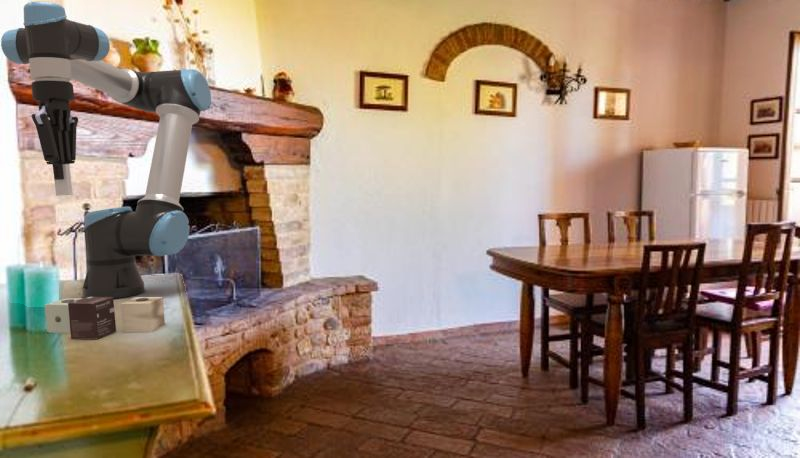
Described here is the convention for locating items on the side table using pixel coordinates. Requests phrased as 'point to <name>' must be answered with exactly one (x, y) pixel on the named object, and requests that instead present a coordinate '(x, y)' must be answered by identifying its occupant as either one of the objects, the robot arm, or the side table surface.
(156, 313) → the beech block marked
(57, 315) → the sage block partly covered
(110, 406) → the side table surface
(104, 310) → the box
